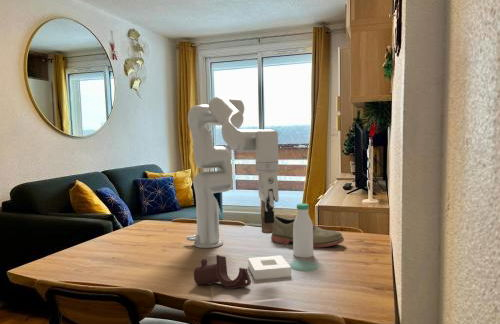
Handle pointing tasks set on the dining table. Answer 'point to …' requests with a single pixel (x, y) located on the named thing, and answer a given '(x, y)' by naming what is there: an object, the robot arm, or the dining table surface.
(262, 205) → the walnut dowel
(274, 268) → the pocket block
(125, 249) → the dining table surface
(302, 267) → the felt pad
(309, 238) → the milk bottle
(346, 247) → the dining table surface
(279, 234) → the oxford shoe
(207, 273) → the bracket
